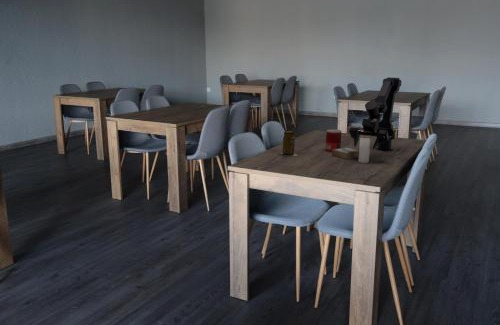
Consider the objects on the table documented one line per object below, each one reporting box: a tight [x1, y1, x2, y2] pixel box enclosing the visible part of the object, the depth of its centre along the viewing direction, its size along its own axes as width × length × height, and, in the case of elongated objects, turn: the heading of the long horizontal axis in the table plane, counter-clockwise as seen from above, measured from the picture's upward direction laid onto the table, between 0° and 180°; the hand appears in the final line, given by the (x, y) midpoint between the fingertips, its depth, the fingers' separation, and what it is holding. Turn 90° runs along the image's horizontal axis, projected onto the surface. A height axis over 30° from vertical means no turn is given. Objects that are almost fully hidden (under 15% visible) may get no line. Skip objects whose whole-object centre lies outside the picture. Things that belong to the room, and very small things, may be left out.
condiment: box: [279, 130, 299, 157], centre depth 237 cm, size 7×8×12 cm
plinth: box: [331, 147, 359, 160], centre depth 236 cm, size 10×10×3 cm
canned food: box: [325, 128, 342, 153], centre depth 248 cm, size 8×8×11 cm
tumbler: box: [358, 135, 372, 164], centre depth 224 cm, size 5×5×13 cm
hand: (363, 147), depth 223 cm, fingers open, 9 cm apart
